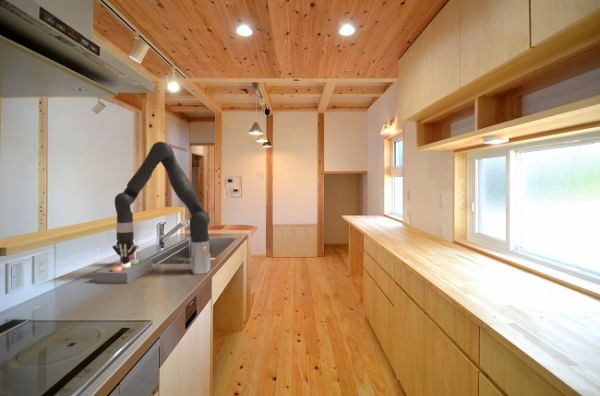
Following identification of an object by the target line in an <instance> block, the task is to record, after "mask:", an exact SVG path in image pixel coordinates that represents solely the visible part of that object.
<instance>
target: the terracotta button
mask: <svg viewBox="0 0 600 396" xmlns="http://www.w3.org/2000/svg"><path fill="white" fill-rule="evenodd" d="M119 271H122V266H115V267H112V272H119Z"/></svg>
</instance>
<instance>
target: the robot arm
mask: <svg viewBox="0 0 600 396" xmlns="http://www.w3.org/2000/svg"><path fill="white" fill-rule="evenodd" d="M160 163H161V164H162V166H163V167H164V170H165V171H166V174H167V178H168V180H169V183H170V185H171V187H172V189H173V191H174V194H175V195H176V196H177V197H178V199H179V200H180V201H181V202H182V203H183V204H184V206H186V208H187V209H188V212H189V214H190V215H191V216H190V219H189V237H190V238H191V239H190V240H191V241H190V243H191V247H190V248H191V253H190V254H191V273H192V274H194V275H201V274H203V275H204V274H208V272H210V271H211V253H210V236H209V227H208V225H209V224H210V221H211V218H210V215H209V214H208V212H207V211H206V209H205V208H204V207H203V205H202V203H201V202H200V200H199V198H198V196H197V193H196V191H195V190H194V187H193V185H192V184H191V182H190V180H189V178H188V177H187V174H186V173H185V172H184V171H183V169H182V168H181V166H180V164H179V162H178V160H177V157H176V156H175V153H174V151H173V148H172V147H171V146H170V144H169V143H166V142H164V141H156V142H155V143H154V144H152V146H151V148H150V149H149V152H148V153H147V155H146V157H145V159H144V160H143V162H142V164H141V165H140V166H139V168H138V169H137V171H136V172H135V174H133V176H132V177H131V178H130V179H129V181H128V182H127V185H126V188H125V189H124V190H123V192H120V193H118V194H116V195H115V197H114V208H115V212H116V227H115V228H116V230H115V231H116V244H114V245H112V249H113V250H114V251H115V253H116V254H117V256H122V262H123V264H127V263H128V262H129V256H130V255H132V254H133V253H134V252H135V251H137V250H138V248H139V245H136V243H135V244H134V242H135V241H134V242H133V240H134V236H135V235H134V234H135V233H134V231H135V229H134V216H133V212H132V210H131V205H132V204H133V203H134V202H135V201H136V199H137V198H138V195H139V194H140V192H141V191H143V189H144V187H145V186H147V184H148V182H149V180H150V179H151V176H152V175H153V173H154V171H155V169H156V168H157V166H158V165H159V164H160ZM131 247H132V249H131Z"/></svg>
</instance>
